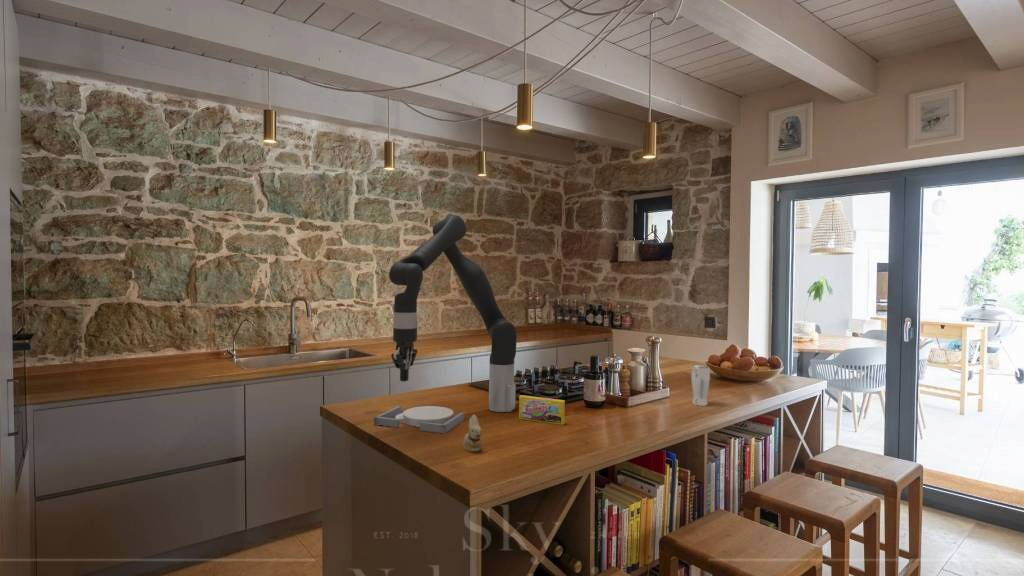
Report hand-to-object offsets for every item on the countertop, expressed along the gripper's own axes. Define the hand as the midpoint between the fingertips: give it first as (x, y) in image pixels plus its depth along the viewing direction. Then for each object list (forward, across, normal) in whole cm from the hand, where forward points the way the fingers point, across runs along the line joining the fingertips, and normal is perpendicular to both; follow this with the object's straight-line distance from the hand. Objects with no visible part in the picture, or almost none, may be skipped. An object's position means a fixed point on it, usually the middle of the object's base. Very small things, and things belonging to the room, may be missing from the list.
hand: (404, 380), depth 169 cm
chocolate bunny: (+16, -7, -26) cm, 32 cm away
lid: (+17, +14, 0) cm, 22 cm away
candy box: (+16, +27, -38) cm, 50 cm away
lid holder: (+16, +11, 0) cm, 19 cm away
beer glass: (+16, +73, -91) cm, 118 cm away
